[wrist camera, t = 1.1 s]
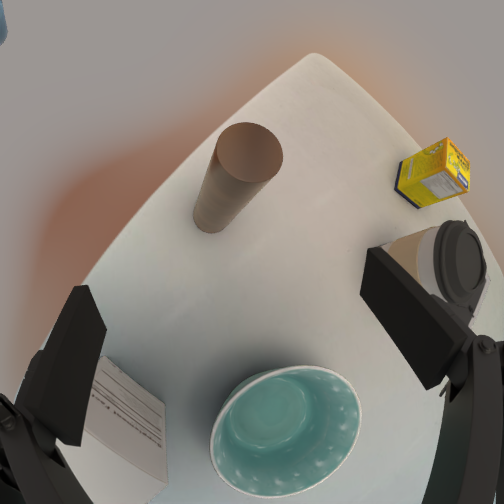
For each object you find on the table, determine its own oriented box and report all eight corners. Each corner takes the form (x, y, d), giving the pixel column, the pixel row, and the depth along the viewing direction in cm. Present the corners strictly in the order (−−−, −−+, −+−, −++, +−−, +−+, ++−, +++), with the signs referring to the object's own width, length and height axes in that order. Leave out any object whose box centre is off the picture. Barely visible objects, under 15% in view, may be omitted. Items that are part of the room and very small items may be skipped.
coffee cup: (351, 286, 35) (444, 282, 21) (372, 225, 37) (458, 198, 23) (395, 312, 37) (482, 316, 22) (412, 256, 39) (494, 242, 24)
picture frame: (454, 222, 43) (408, 310, 37) (465, 219, 40) (421, 311, 35) (483, 281, 45) (443, 366, 39) (493, 280, 42) (455, 368, 36)
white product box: (124, 451, 25) (109, 536, 11) (64, 403, 24) (10, 468, 10) (168, 405, 27) (173, 487, 13) (104, 352, 26) (55, 404, 12)
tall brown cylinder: (191, 231, 30) (212, 176, 15) (195, 195, 31) (220, 116, 16) (227, 235, 31) (281, 188, 16) (231, 200, 32) (284, 129, 17)
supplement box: (422, 181, 42) (470, 161, 31) (417, 210, 40) (470, 193, 30) (399, 160, 40) (447, 135, 30) (393, 189, 39) (446, 166, 29)
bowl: (190, 358, 29) (197, 382, 21) (322, 337, 33) (363, 349, 25) (210, 470, 27) (222, 511, 19) (325, 443, 32) (358, 470, 24)
